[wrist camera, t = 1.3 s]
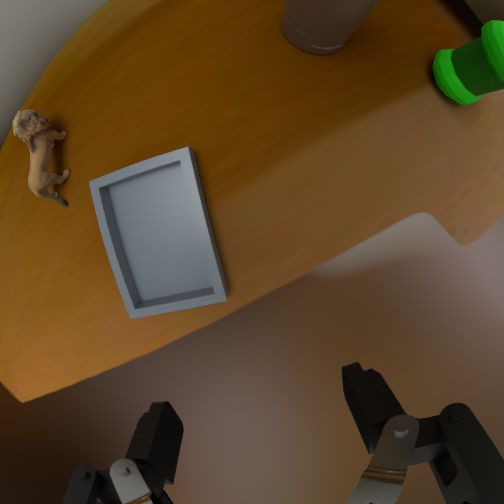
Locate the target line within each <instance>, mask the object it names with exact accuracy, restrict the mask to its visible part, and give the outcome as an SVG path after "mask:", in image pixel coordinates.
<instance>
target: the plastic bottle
mask: <svg viewBox="0 0 504 504" xmlns="http://www.w3.org/2000/svg"><path fill="white" fill-rule="evenodd" d="M432 69H433V72H434V77H435V80H436V84H437V85H438V86H439V88H440V89H441V91H442V92H444V93H445V95H446V96H448V97H449V98H451V99H453V100H454V101H456V102H457V103H459V104H462V105H467V104H471V103H474V102H477V101H478V100H479V99H480V98H481V97H482V95H483V94H485V93H489V92H493V91H497V90H501V89H504V22H503V21H495V20H492V21H490V22H488V23H486V24H485V25H484V26H483V27H482V37H480V38H478V39H475V40H473V41H471V42H469V43H467V44H465V45H463V46H461V47H459V48H457V49H445V50H440V51H438V52H437V54H436V56H435V59H434V63H433V66H432Z"/></svg>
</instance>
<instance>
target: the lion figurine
mask: <svg viewBox="0 0 504 504" xmlns="http://www.w3.org/2000/svg"><path fill="white" fill-rule="evenodd" d="M13 128H14V129H13V132H14V135H15V136H16V135H18V136H19V137H20V138H21V139H23V142H25V143H27V145H28V147H29V150H30V172H29V176H28V184H29V188H30V190H31V191H32V192H34V194H35V195H36V196H38V197H39V198H41V199H44V200H49V201H56V202H59V203H61V204H62V205H63V206H64V207H66V202H65V201H63V200H61V199H59V198H57V197H58V193H57V192H56V191H53V193H52V195H51V194H50V193H49V192H48V189H47V188H48V187H49V186H51V185H52V184H54V183H58V184H61V183H62V182H63V181H64V180H65V179H66V178H68V176H69V175H70V170H69V169H66V170H64V171H63V176H58V175H56V174H55V173H53V172H49V171H48V167H49V165H50V162H51V157H52V148H53V147H54V141H53V140H54V139H57V140H62V139H64V138H65V136H66V131H62V132H60V133H58V132H57V131H54V130H51V123H50V122H49V121H48V119H47V118H46V117H44V116H43V115H42V114H40V113H39V112H36V111H33V110H32V109H27V110H24V111H18V113H17V114H16V116H15V118H14V121H13Z"/></svg>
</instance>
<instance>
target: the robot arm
mask: <svg viewBox="0 0 504 504" xmlns="http://www.w3.org/2000/svg"><path fill="white" fill-rule="evenodd" d="M379 1H380V0H287V2H286V6H285V10H284V15H283V19H282V23H281V29H282V31H283V34H284V36H285V37H286V39H287V40H288V41H289V42H290V43H291V44H293V45H294V46H296V47H297V48H299V49H301V50H303V51H306V52H308V53H312V54H318V55H326V54H331V53H334V52H337V51H338V50H340V49H341V47H342V46H343V45H344V44H345V43H346V41H347V40H348V39H349V37H350V36H351V35H352V34H353V33H354V31H355V30H356V29H357V27H358V26H359V25H360V24H361V22H362V21H363V20H364V19H365V18H366V16H367V15H368V14H369V13H370V11H371V10H372V9H373V8H374V7H375V5H376V4H377V3H378V2H379ZM342 380H343V391H344V395H345V399H346V402H347V404H348V406H349V409H350V411H351V413H352V416H353V418H354V420H355V423H356V425H357V427H358V430H359V432H360V434H361V437H362V439H363V442H364V444H365V446H366V449H367V451H368V454H371V453H374V454H373V456H372V458H371V461H370V463H369V465H368V467H367V469H366V470H365V471H364V472H363V474H362V476H361V477H360V479H359V481H358V483H357V486H356V487H355V489H354V491H353V493H352V495H351V497H350V498H349V500H348V502H347V504H395V502H396V500H397V497H398V495H399V493H400V490H401V487H402V485H403V482H404V479H405V476H406V472H407V469H408V466H410V465H415V464H420V463H424V462H428V463H429V465H430V467H431V469H432V471H433V474H434V476H435V478H436V481H437V483H438V485H439V488H440V490H441V492H442V495H443V497H444V500H445V502H446V504H504V460H503V458H502V456H501V455H500V453H499V452H498V450H497V448H496V447H495V445H494V444H493V442H492V441H491V439H490V438H489V436H488V434H487V433H486V431H485V430H484V429H483V427H482V426H481V424H480V423H479V421H478V420H477V418H476V417H475V416H474V414H473V413H472V411H471V410H470V408H469V407H467V406H466V405H465V404H462V403H454V404H450V405H448V406H446V407H445V408H444V409H443V410H442V412H441V413H440V415H437V416H433V417H428V418H421V419H419V418H414V417H413V416H411V415H408V414H406V413H405V411H404V410H403V408H402V407H401V405H400V403H399V402H398V400H397V399H396V397H395V396H394V394H393V392H392V391H391V390H390V388H389V387H388V385H387V383H386V382H385V380H384V379H383V377H382V376H381V374H380V373H378V372H376V371H375V370H373V369H369V370H366V371H363V369H362V367H361V365H360V364H359V363H358V362H355V363H352V364H350V365H346V366H344V367H342ZM183 431H184V428H183V424H182V421H181V420H180V418H179V417H178V415H177V414H176V412H175V410H174V409H173V407H172V406H171V404H170V403H169V402H168V401H165V402H153V403H152V404H151V406H150V409H149V412H147V413H145V414H144V415H143V416H142V417H141V418H140V419H139V421H138V424H137V426H136V429H135V432H134V436H133V437H132V440H131V442H130V445H129V448H128V451H127V453H126V456H125V459H122V460H119V461H117V462H116V463H114V464H113V465H112V467H111V469H106V470H99V471H97V470H95V468H93V467H92V466H91V465H88V464H85V465H81V466H79V467H78V468H77V469H76V470H75V471H74V473H73V476H72V478H71V481H70V484H69V486H68V489H67V492H66V495H65V497H64V500H63V503H62V504H96V501H97V500H99V501H100V503H99V504H174V503H173V502H172V500H171V499H170V497H169V496H168V494H167V493H166V491H165V490H164V489H163V488H164V484H173V483H174V477H175V473H176V467H177V462H178V457H179V452H180V446H181V442H182V437H183Z"/></svg>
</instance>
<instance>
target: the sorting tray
mask: <svg viewBox="0 0 504 504" xmlns="http://www.w3.org/2000/svg"><path fill="white" fill-rule="evenodd" d="M89 184H90V189H91V193H92V198H93V203H94V207H95V211H96V215H97V219H98V223H99V227H100V231H101V234H102V238H103V241H104V245H105V248H106V251H107V255H108V258H109V261H110V264H111V267H112V270H113V273H114V276H115V279H116V282H117V285H118V288H119V290H120V293H121V296H122V298H123V301H124V304H125V306H126V309H127V311H128V314H129V316H130V319H133V318H139V317H145V316H151V315H157V314H162V313H168V312H173V311H179V310H184V309H190V308H195V307H200V306H205V305H210V304H215V303H220V302H225V301H227V298H228V291H229V290H228V286H227V282H226V279H225V275H224V271H223V268H222V264H221V260H220V256H219V253H218V249H217V245H216V241H215V237H214V233H213V229H212V225H211V221H210V217H209V213H208V209H207V205H206V201H205V197H204V193H203V189H202V184H201V180H200V176H199V172H198V167H197V163H196V158H195V154H194V151H193V150H192V149H190V148H189V147H186V148H182V149H179V150H176V151H172V152H169V153H166V154H163V155H160V156H156V157H153V158H150V159H148V160H145V161H142V162H139V163H136V164H133V165H131V166H128V167H125V168H122V169H120V170H117V171H115V172H112V173H110V174H107V175H105V176H102V177H100V178H97V179H95V180H93V181H90V182H89Z"/></svg>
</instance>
